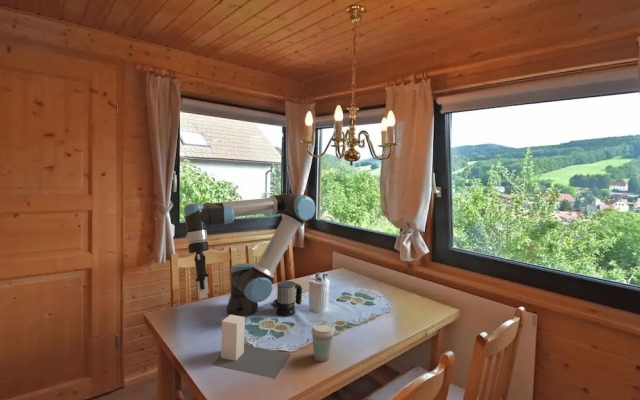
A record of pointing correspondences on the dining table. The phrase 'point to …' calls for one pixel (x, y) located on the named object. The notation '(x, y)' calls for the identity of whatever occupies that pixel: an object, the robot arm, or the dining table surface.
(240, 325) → the cream block
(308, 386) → the dining table surface
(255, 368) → the charcoal mat
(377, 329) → the dining table surface
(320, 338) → the coffee cup
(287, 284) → the milk frother
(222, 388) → the dining table surface
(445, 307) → the dining table surface
